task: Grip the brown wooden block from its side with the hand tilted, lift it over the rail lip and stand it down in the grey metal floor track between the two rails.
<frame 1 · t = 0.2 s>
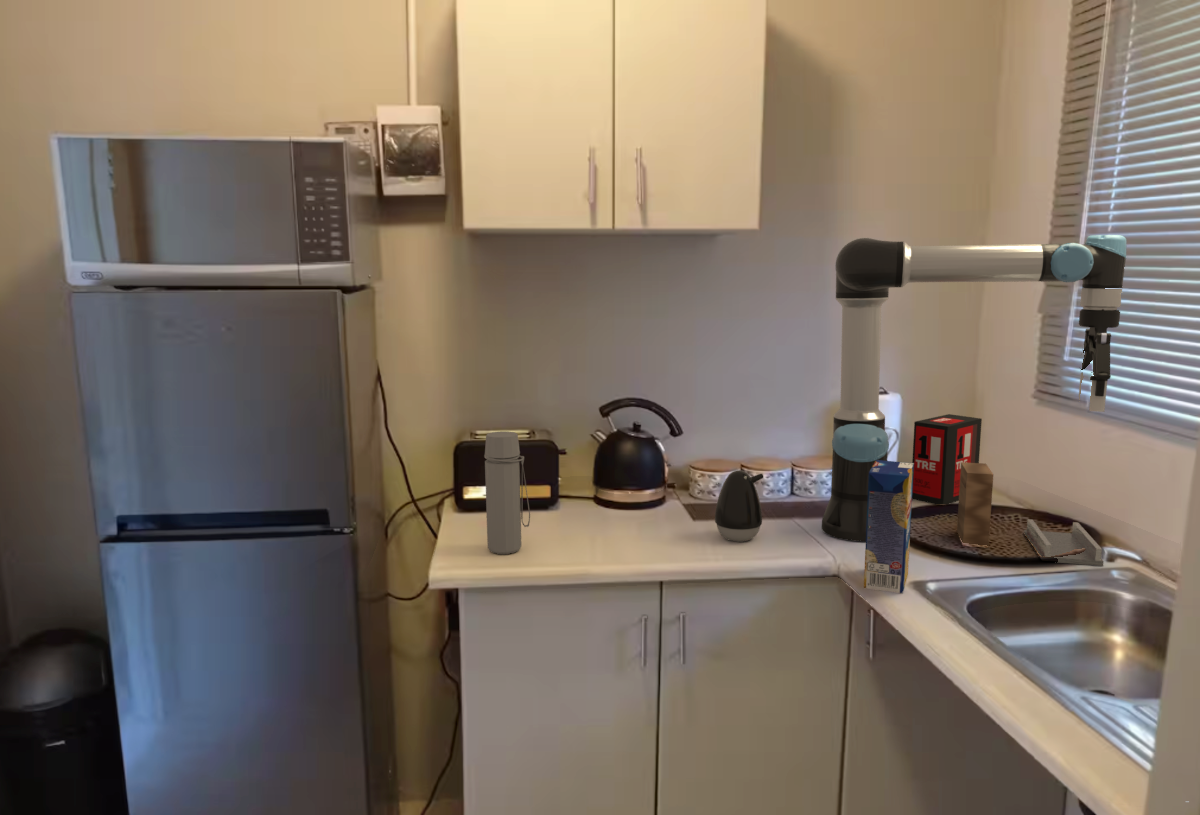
hand: (1090, 406, 187), 28 cm above the worktop, tool pointing down, fingers open, 13 cm apart
pump dispenser: (738, 538, 188), on the worktop
brown wooden block: (972, 540, 185), on the worktop
cleaning product box: (943, 497, 220), on the worktop
floor track: (1061, 549, 179), on the worktop
beverage box: (886, 581, 162), on the worktop
water bottle: (509, 550, 181), on the worktop
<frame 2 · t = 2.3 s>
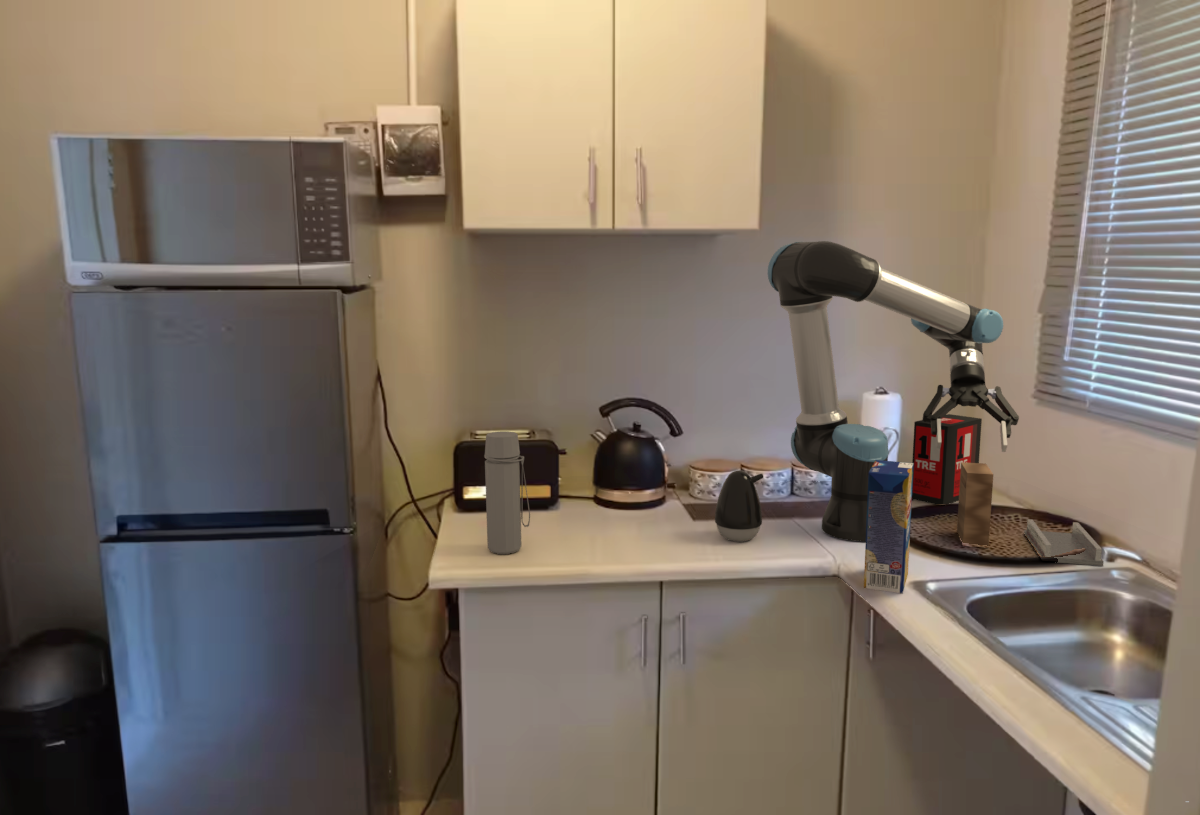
hand: (971, 447, 192), 18 cm above the worktop, tool tilted 45°, fingers open, 13 cm apart
nothing on the worktop moved.
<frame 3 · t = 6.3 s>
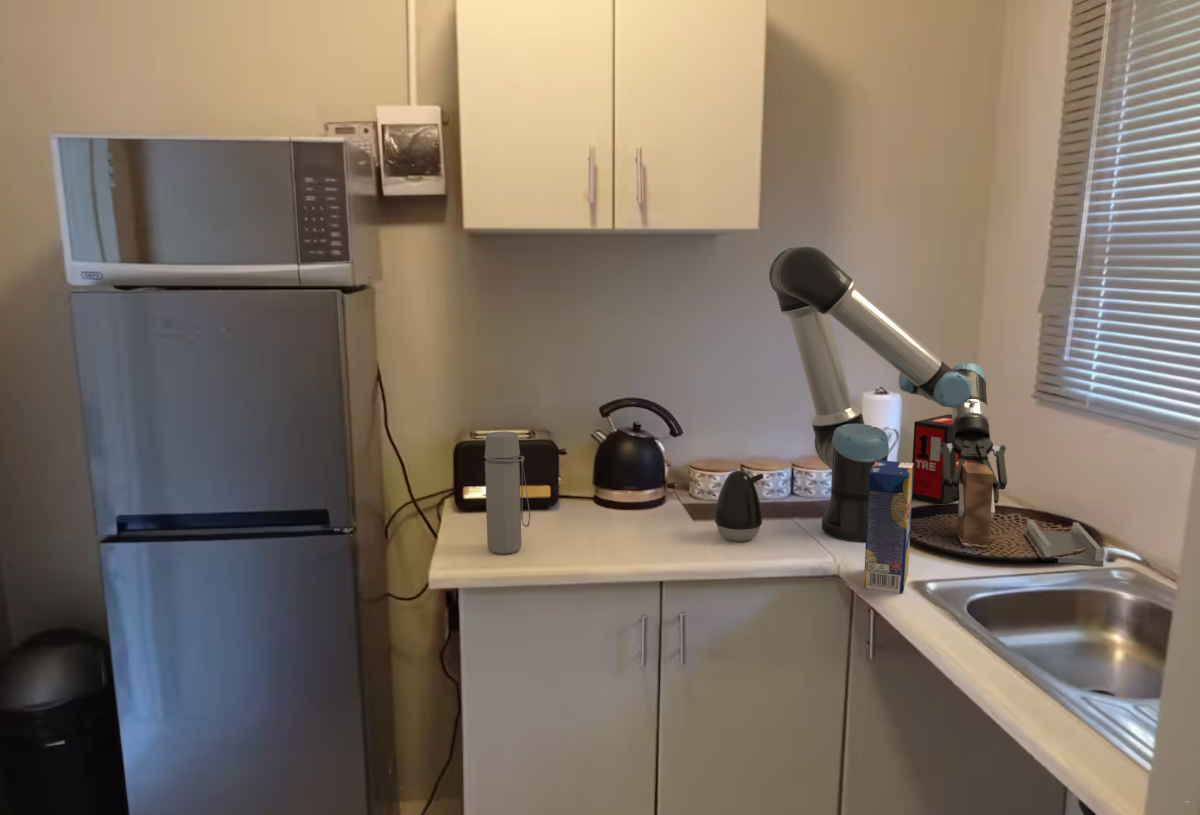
hand: (976, 514, 180), 7 cm above the worktop, tool tilted 45°, fingers closed on brown wooden block, 5 cm apart
brown wooden block: (972, 540, 185), on the worktop, touching gripper
everything else where it was.
when the fingers open (9 cm above the worktop, at t = 12.1 s): brown wooden block stays where it is, resting on floor track.
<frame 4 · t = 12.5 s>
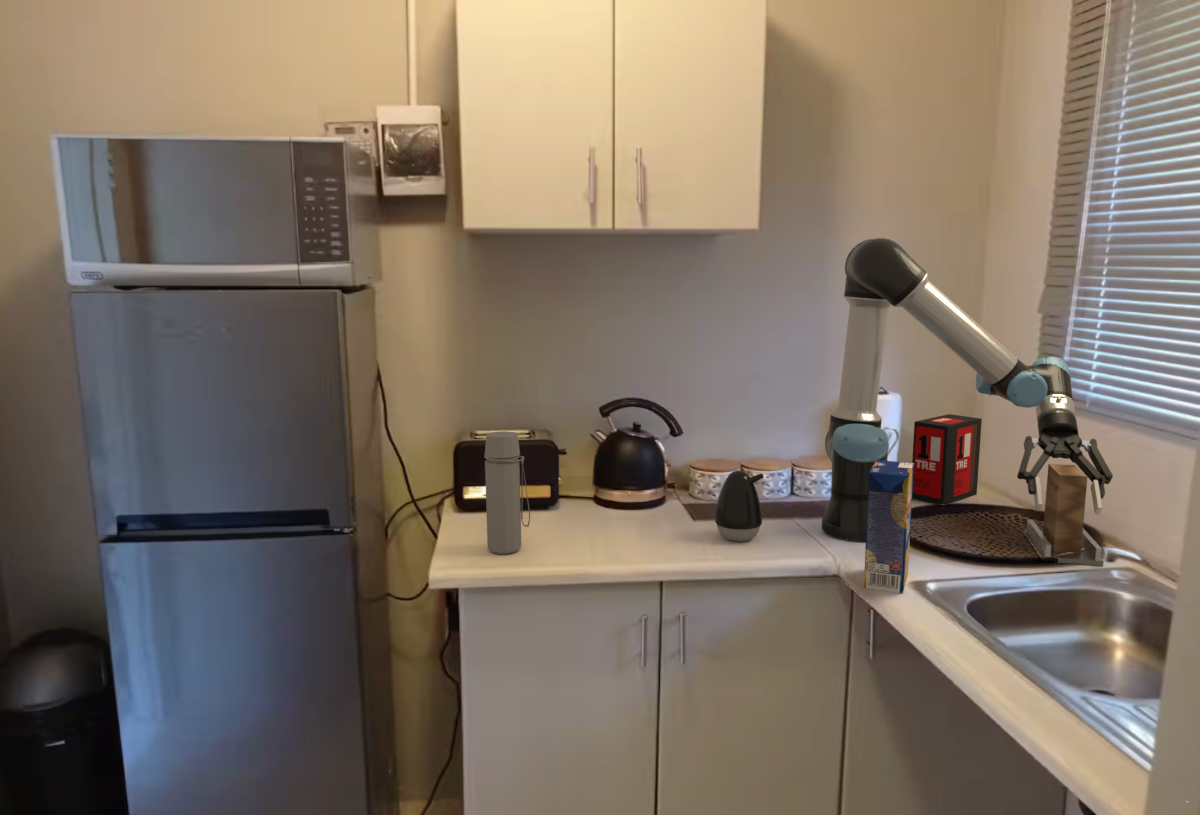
hand: (1068, 509, 174), 10 cm above the worktop, tool tilted 45°, fingers open, 10 cm apart
brown wooden block: (1061, 544, 179), point 1 cm above the worktop, touching floor track
everything else where it was.
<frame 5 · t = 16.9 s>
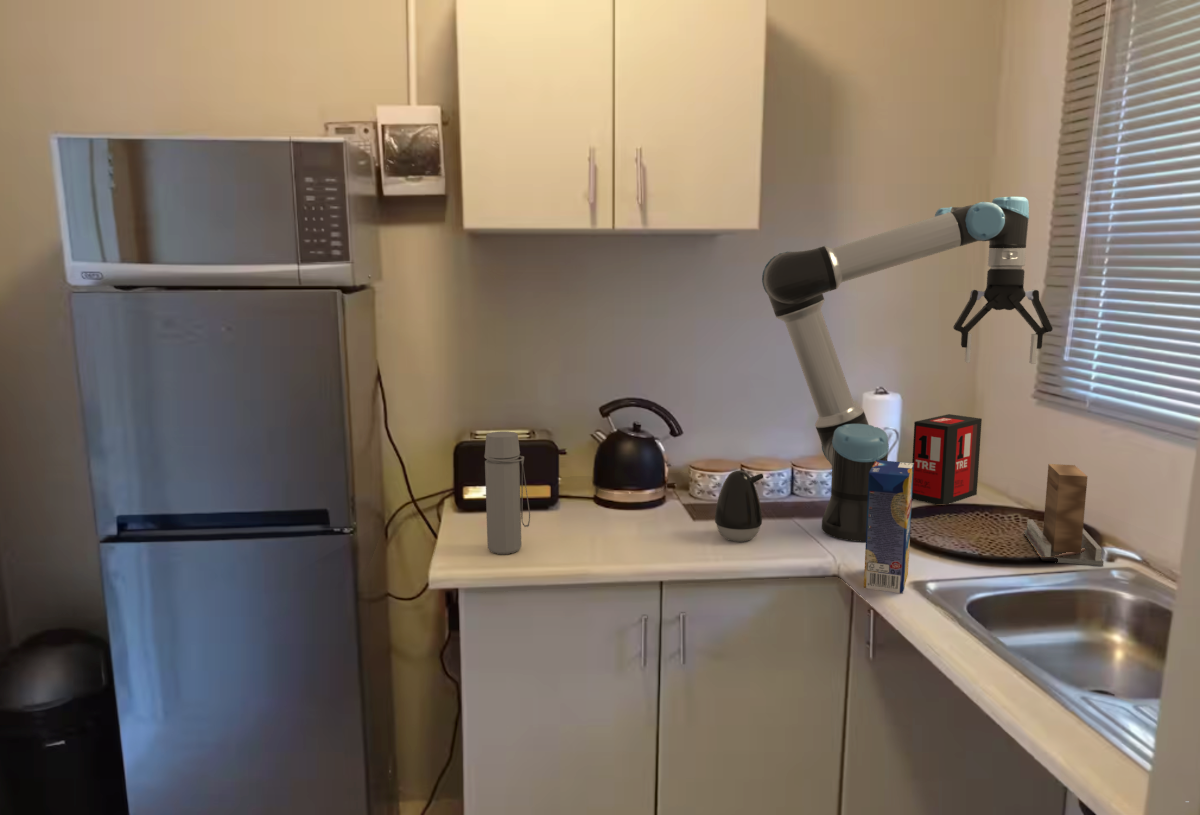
hand: (999, 362, 195), 37 cm above the worktop, tool pointing down, fingers open, 13 cm apart
nothing on the worktop moved.
at the end: brown wooden block inside the target area on the floor track (0.1 cm from its centre), point 1.0 cm above the floor track's base; brown wooden block tilted 0°; the gripper is holding nothing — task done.
